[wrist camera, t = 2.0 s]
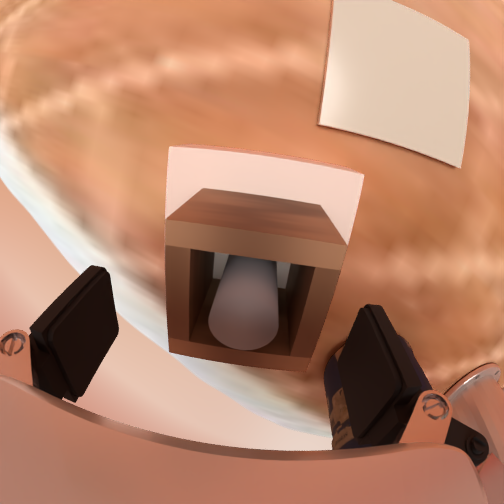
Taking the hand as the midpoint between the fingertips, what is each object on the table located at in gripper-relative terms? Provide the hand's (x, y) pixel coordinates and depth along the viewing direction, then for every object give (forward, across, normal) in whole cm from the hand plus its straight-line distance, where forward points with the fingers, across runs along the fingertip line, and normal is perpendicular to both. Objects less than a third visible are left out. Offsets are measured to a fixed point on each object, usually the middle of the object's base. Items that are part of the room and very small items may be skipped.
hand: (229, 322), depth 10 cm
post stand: (+11, -1, 0) cm, 11 cm away
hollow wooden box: (+7, -1, 0) cm, 7 cm away
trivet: (+11, -10, -14) cm, 20 cm away
